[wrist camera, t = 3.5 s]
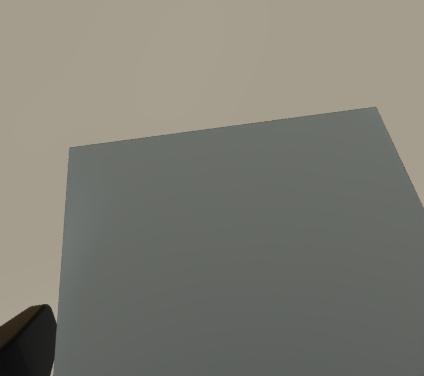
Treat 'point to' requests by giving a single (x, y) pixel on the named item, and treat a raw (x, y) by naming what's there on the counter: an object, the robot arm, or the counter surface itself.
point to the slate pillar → (243, 253)
